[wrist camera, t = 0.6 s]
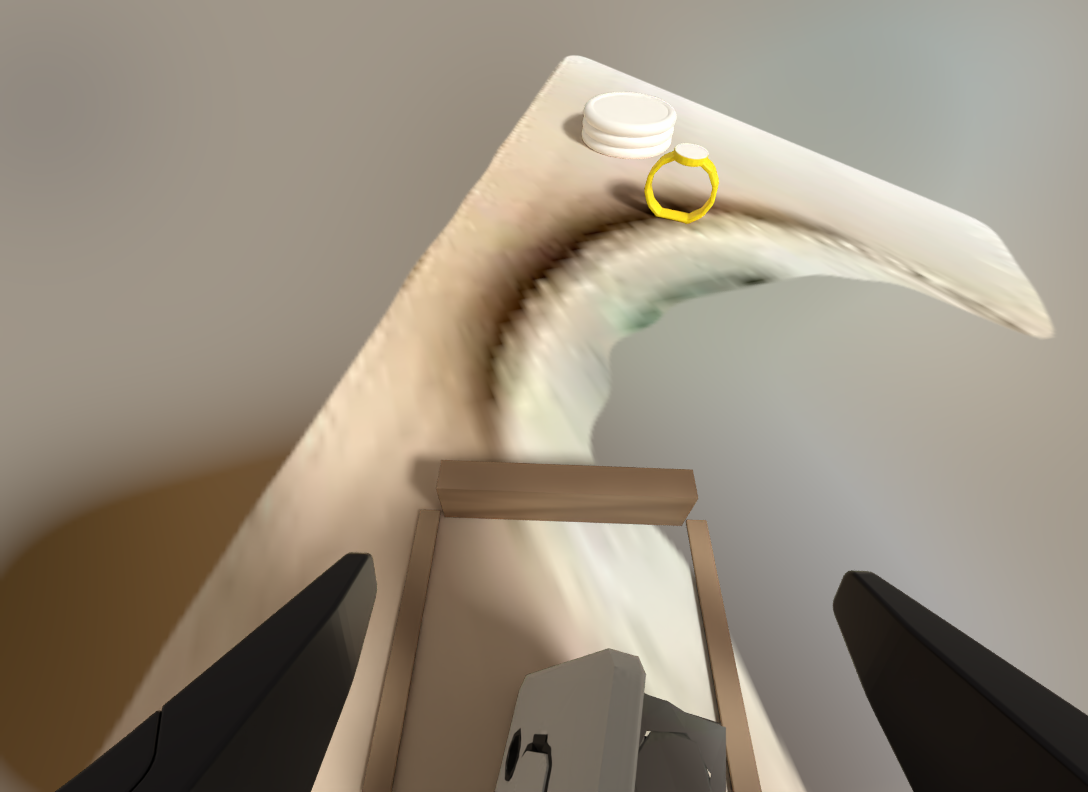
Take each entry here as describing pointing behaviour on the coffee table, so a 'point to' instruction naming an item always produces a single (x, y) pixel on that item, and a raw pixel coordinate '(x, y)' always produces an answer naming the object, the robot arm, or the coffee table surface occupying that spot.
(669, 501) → the bay
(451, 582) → the coffee table surface
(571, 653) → the coffee table surface
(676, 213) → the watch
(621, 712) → the electrical switch
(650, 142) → the coaster
